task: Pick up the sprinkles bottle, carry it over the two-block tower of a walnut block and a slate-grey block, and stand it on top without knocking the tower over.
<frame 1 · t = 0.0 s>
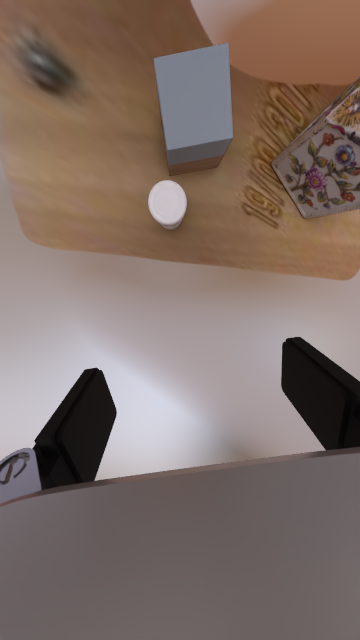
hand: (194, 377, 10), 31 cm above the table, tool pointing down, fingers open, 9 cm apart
decorative jar: (315, 167, 33), on the table
walnut base block: (189, 142, 32), on the table
slate top block: (192, 124, 27), point 5 cm above the table
sprinkles bottle: (170, 216, 36), on the table
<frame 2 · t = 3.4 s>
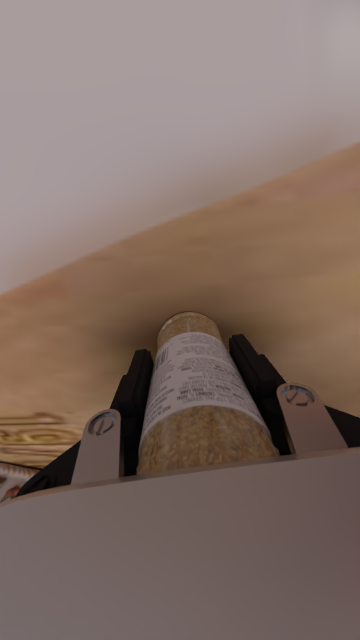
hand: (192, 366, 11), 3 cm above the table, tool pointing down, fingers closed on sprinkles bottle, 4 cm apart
decorative jar: (7, 494, 21), on the table
sprinkles bottle: (188, 338, 14), on the table, touching gripper
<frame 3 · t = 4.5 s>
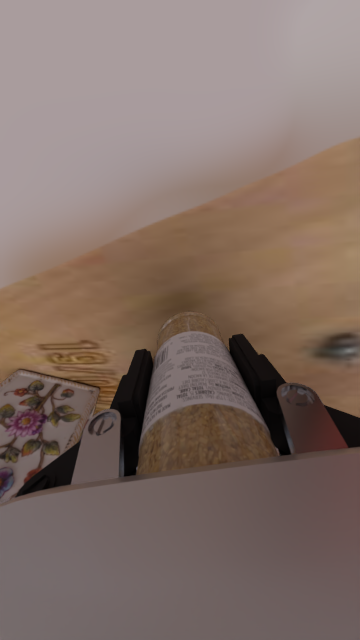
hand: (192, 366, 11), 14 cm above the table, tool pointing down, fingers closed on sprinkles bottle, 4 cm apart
decorative jar: (56, 404, 31), on the table
sprinkles bottle: (188, 337, 15), point 11 cm above the table, touching gripper
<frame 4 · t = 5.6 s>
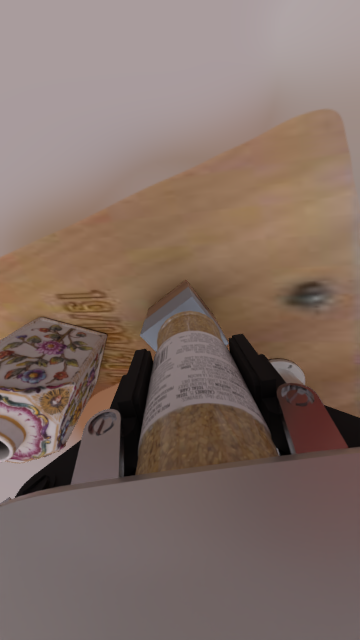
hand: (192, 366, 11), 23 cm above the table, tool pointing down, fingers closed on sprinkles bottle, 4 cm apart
decorative jar: (70, 351, 36), on the table
walnut base block: (181, 311, 34), on the table
slate top block: (183, 323, 30), point 5 cm above the table
sprinkles bottle: (188, 337, 14), point 19 cm above the table, touching gripper
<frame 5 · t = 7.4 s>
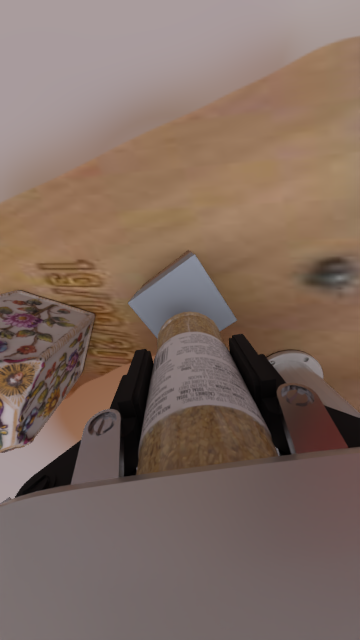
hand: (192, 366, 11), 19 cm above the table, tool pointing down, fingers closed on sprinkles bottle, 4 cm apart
decorative jar: (53, 333, 32), on the table
slate top block: (182, 299, 25), point 5 cm above the table, touching walnut base block
sprinkles bottle: (188, 337, 14), point 16 cm above the table, touching gripper
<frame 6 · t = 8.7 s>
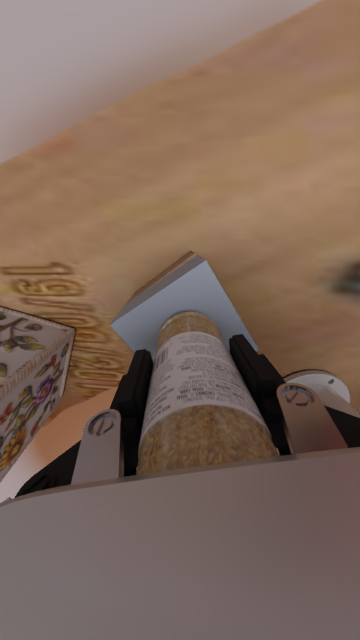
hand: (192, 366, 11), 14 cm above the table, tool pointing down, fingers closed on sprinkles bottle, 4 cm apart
decorative jar: (26, 351, 26), on the table
walnut base block: (182, 299, 24), on the table, touching slate top block
slate top block: (184, 315, 19), point 5 cm above the table, touching walnut base block
sprinkles bottle: (188, 337, 14), point 10 cm above the table, touching gripper
when the fingers open (13 cm above the table, at t = 9.9 s): sprinkles bottle stays where it is, resting on slate top block.
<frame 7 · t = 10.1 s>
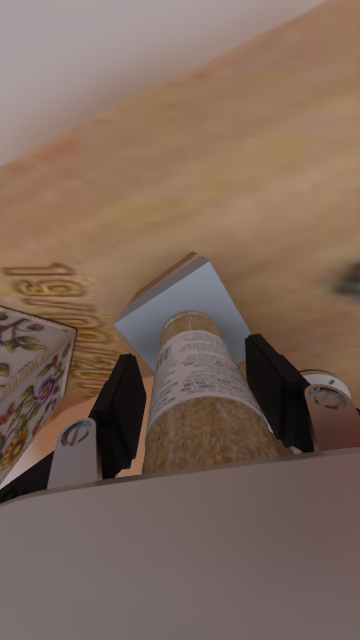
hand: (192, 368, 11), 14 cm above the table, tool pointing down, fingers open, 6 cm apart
decorative jar: (27, 351, 26), on the table
walnut base block: (184, 300, 24), on the table, touching slate top block
slate top block: (186, 315, 19), point 5 cm above the table, touching sprinkles bottle, walnut base block
sprinkles bottle: (190, 336, 15), point 10 cm above the table, touching slate top block
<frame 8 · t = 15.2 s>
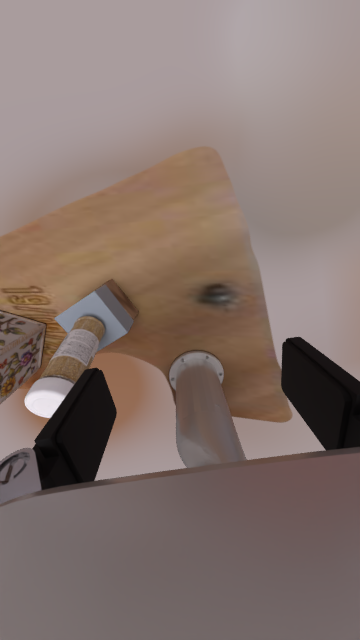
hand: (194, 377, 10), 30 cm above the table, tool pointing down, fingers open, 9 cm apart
decorative jar: (17, 338, 42), on the table
walnut base block: (110, 306, 40), on the table, touching slate top block
slate top block: (102, 314, 36), point 5 cm above the table, touching sprinkles bottle, walnut base block
sprinkles bottle: (90, 326, 31), point 10 cm above the table, touching slate top block
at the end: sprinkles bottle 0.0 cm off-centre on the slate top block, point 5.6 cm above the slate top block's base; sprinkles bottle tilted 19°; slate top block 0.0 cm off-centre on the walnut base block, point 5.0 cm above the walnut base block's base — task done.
